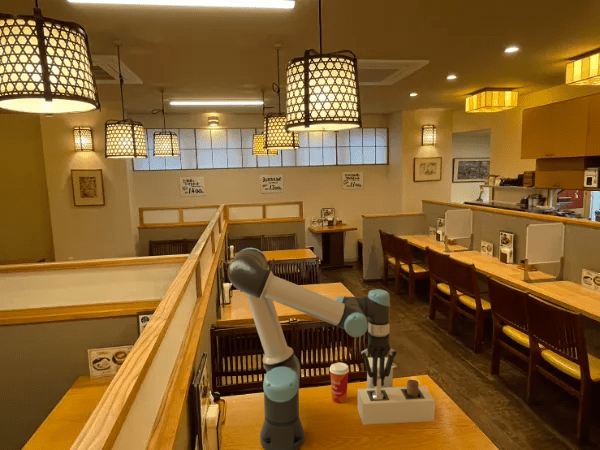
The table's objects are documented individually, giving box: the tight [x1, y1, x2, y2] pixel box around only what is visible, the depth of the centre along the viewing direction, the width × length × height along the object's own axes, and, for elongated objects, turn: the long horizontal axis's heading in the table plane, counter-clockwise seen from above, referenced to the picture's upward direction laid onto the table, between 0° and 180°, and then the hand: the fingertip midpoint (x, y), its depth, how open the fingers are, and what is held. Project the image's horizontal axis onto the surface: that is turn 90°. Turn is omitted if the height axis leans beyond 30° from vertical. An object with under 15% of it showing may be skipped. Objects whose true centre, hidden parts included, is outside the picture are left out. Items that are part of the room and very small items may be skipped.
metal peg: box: [372, 392, 383, 400], centre depth 152 cm, size 4×4×8 cm
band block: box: [357, 385, 436, 426], centre depth 153 cm, size 26×10×8 cm, turn 93°
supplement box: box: [366, 356, 394, 389], centre depth 164 cm, size 9×9×15 cm
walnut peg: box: [406, 379, 419, 398], centre depth 152 cm, size 4×4×8 cm
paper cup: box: [329, 361, 350, 404], centre depth 163 cm, size 8×8×14 cm
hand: (378, 393), depth 152 cm, fingers closed
